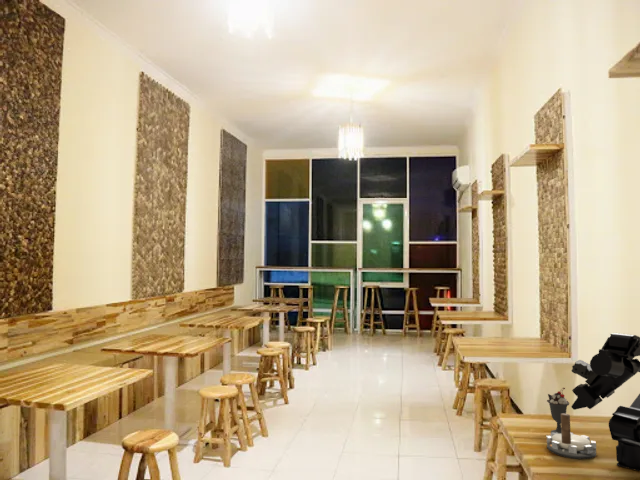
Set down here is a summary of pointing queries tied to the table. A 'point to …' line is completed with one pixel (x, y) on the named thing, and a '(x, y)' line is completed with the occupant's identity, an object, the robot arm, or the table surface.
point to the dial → (569, 435)
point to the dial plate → (574, 456)
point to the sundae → (557, 408)
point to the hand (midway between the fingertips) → (572, 408)
